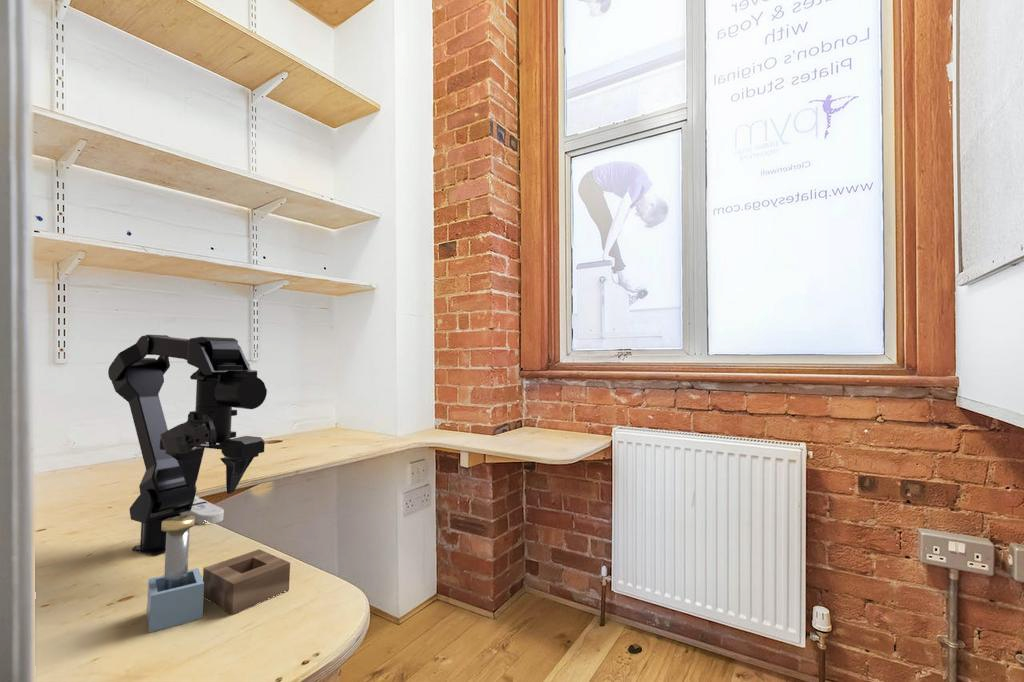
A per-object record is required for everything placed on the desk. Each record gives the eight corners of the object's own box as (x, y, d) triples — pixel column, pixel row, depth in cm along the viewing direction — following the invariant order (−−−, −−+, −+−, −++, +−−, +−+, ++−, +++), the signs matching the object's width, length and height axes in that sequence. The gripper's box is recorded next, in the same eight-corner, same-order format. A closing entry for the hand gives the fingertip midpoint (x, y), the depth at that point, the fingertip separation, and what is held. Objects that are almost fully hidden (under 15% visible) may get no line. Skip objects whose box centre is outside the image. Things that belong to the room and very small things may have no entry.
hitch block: (202, 596, 76) (203, 567, 76) (258, 575, 83) (259, 549, 83) (232, 614, 71) (233, 584, 71) (289, 590, 79) (290, 562, 79)
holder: (146, 613, 71) (148, 578, 71) (196, 600, 75) (198, 567, 75) (149, 633, 66) (150, 596, 66) (202, 618, 70) (204, 583, 70)
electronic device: (205, 484, 105) (174, 471, 113) (202, 529, 105) (171, 512, 113) (230, 479, 110) (199, 467, 118) (227, 522, 109) (196, 507, 118)
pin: (152, 616, 70) (157, 520, 70) (183, 605, 73) (187, 513, 74) (163, 626, 68) (168, 526, 68) (195, 614, 71) (199, 519, 71)
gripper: (131, 406, 83) (126, 497, 83) (215, 413, 78) (211, 510, 78) (190, 401, 94) (186, 481, 94) (268, 406, 89) (264, 491, 88)
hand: (210, 490), depth 88 cm, fingers open, 9 cm apart
